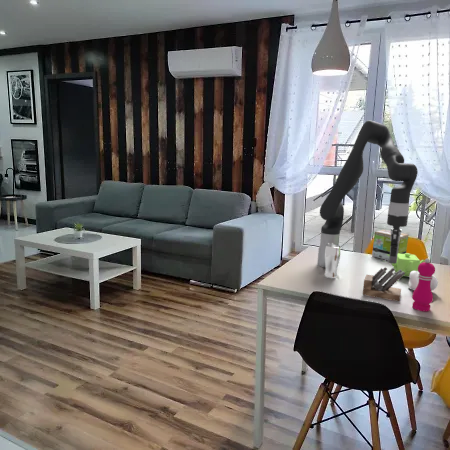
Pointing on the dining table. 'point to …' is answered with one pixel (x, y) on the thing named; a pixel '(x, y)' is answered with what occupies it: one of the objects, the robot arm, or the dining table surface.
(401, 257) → the kettle
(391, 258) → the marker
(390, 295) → the knife block
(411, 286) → the white knot
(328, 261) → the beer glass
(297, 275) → the dining table surface
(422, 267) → the pepper mill
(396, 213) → the robot arm
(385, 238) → the tea box
